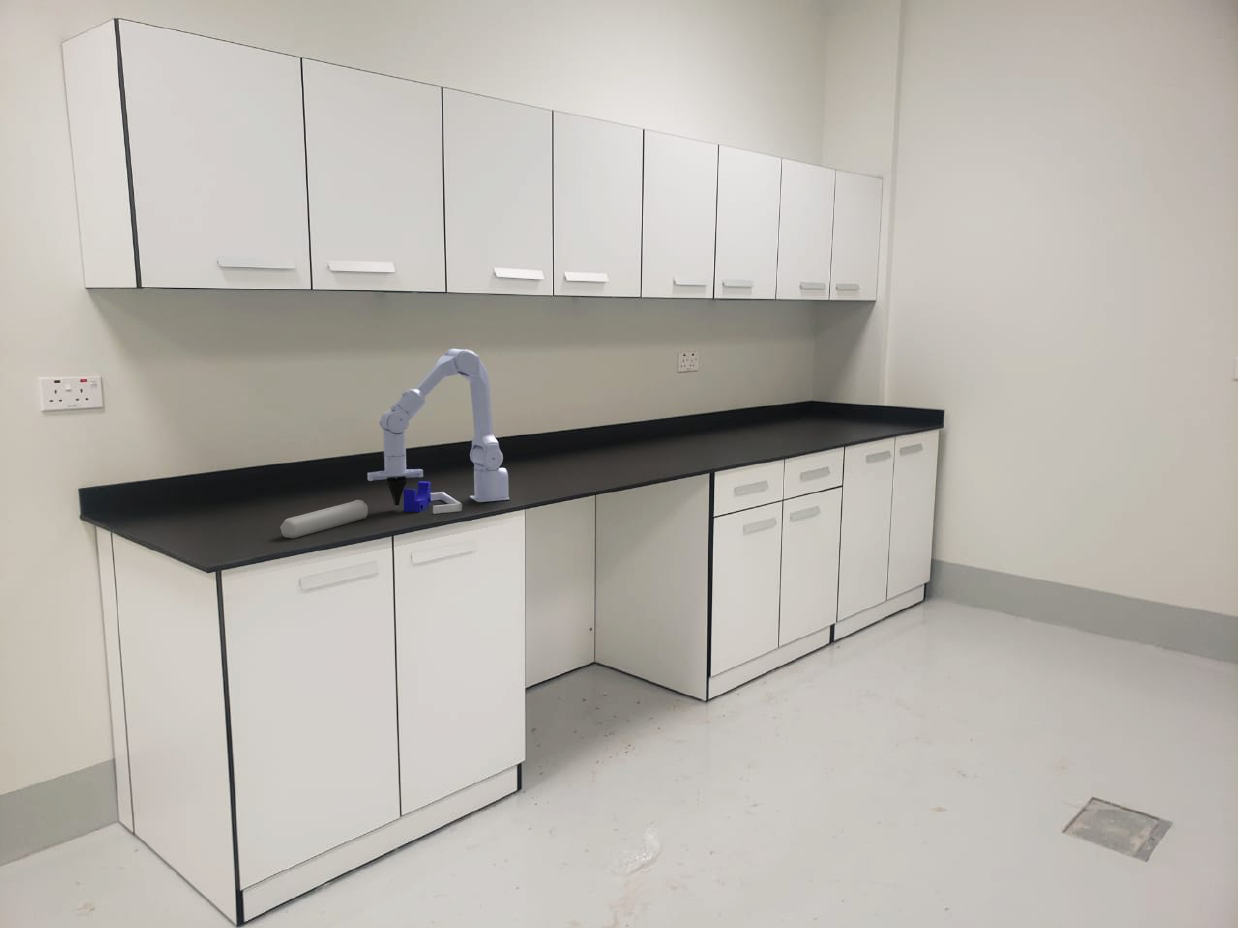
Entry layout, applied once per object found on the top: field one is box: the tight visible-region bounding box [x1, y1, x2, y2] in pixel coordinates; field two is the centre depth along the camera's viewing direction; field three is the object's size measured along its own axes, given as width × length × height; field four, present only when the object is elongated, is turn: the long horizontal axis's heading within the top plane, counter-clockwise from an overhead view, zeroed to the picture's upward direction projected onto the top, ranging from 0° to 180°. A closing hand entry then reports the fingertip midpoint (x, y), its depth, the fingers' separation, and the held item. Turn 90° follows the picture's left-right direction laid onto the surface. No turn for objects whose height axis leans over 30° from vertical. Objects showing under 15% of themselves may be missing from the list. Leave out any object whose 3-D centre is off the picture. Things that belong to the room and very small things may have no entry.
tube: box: [279, 499, 369, 539], centre depth 218 cm, size 5×5×25 cm
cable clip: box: [402, 481, 432, 513], centre depth 243 cm, size 12×4×6 cm, turn 171°
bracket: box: [431, 491, 463, 515], centre depth 244 cm, size 8×18×2 cm, turn 28°
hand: (396, 504), depth 239 cm, fingers closed
